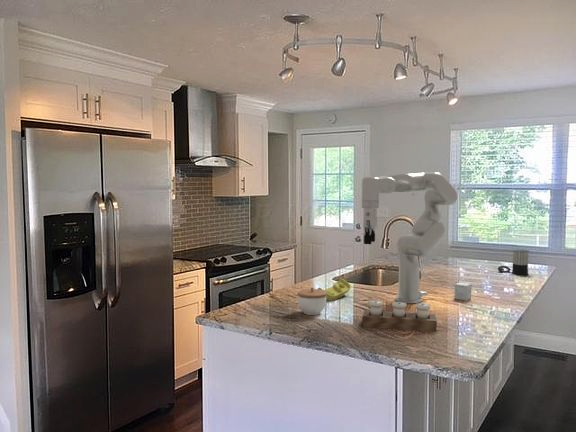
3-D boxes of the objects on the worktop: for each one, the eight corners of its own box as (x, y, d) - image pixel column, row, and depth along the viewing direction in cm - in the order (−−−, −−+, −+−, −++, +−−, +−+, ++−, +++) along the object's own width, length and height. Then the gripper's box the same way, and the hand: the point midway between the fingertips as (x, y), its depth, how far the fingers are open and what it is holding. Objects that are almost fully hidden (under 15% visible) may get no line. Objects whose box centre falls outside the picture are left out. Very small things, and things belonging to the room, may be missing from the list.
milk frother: (531, 275, 296) (531, 251, 295) (505, 275, 296) (505, 251, 295) (520, 271, 310) (521, 248, 309) (495, 271, 310) (496, 248, 309)
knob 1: (378, 312, 198) (378, 299, 198) (385, 316, 193) (385, 302, 192) (366, 314, 196) (366, 300, 196) (373, 317, 191) (373, 304, 190)
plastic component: (332, 297, 230) (316, 285, 235) (327, 309, 233) (312, 298, 238) (354, 287, 245) (339, 276, 250) (349, 299, 248) (334, 288, 253)
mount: (362, 326, 191) (362, 316, 191) (364, 319, 201) (364, 309, 200) (436, 331, 184) (436, 321, 184) (434, 324, 194) (435, 314, 194)
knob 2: (401, 314, 196) (401, 301, 196) (409, 317, 191) (409, 304, 190) (389, 315, 194) (389, 302, 194) (396, 319, 189) (397, 305, 188)
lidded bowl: (317, 318, 202) (318, 292, 202) (292, 314, 209) (292, 288, 208) (331, 311, 213) (331, 286, 212) (306, 307, 220) (306, 283, 219)
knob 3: (424, 315, 194) (424, 302, 194) (433, 319, 189) (433, 305, 188) (412, 316, 192) (412, 303, 192) (420, 320, 187) (421, 306, 186)
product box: (453, 298, 236) (454, 283, 236) (459, 296, 241) (459, 282, 240) (466, 300, 232) (466, 285, 232) (471, 298, 237) (471, 283, 236)
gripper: (375, 205, 207) (374, 245, 209) (381, 204, 224) (380, 241, 225) (358, 205, 210) (357, 244, 211) (365, 203, 226) (364, 240, 227)
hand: (369, 242), depth 218 cm, fingers open, 9 cm apart
